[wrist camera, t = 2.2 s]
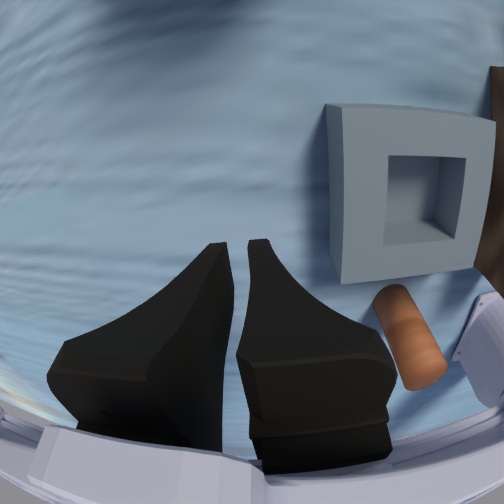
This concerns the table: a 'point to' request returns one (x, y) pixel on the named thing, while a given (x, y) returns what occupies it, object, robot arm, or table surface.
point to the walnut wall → (495, 196)
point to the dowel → (409, 338)
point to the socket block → (405, 189)
